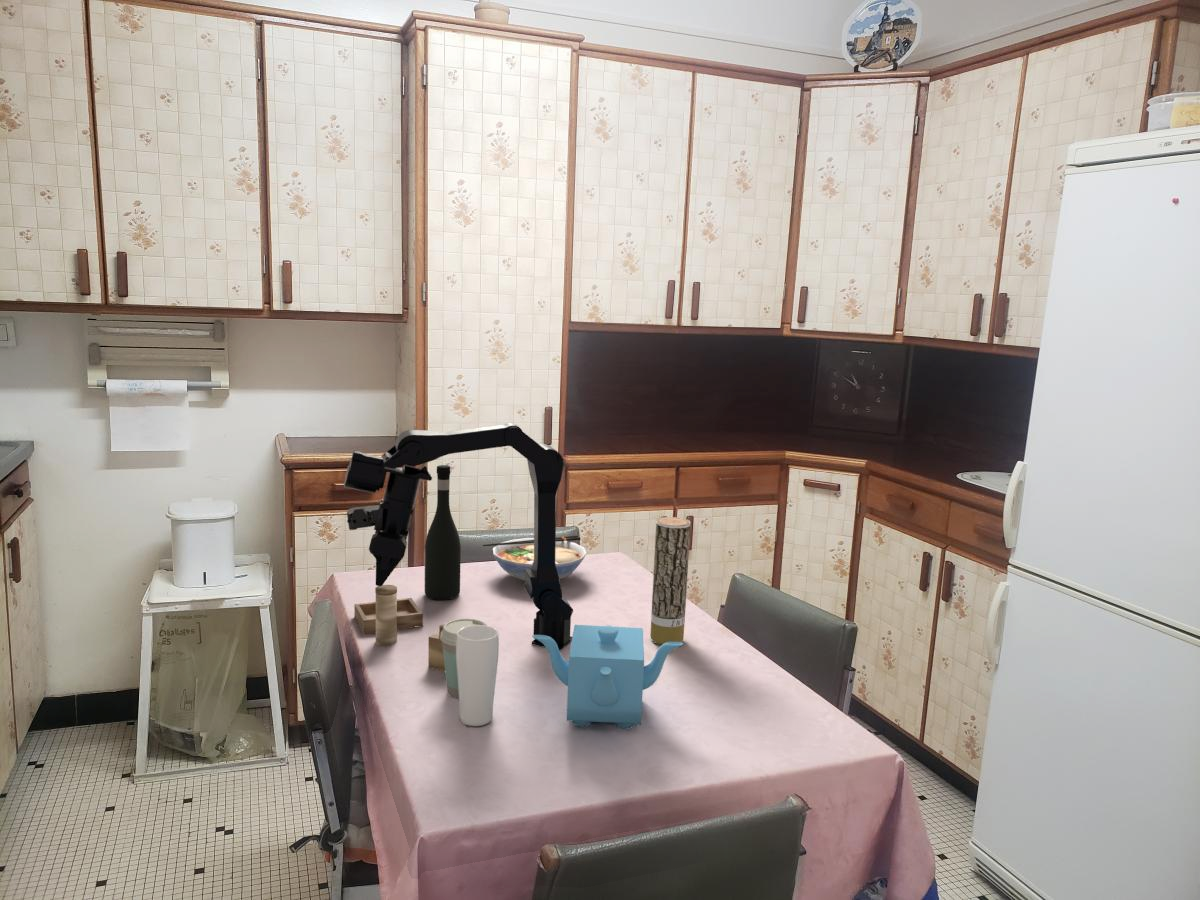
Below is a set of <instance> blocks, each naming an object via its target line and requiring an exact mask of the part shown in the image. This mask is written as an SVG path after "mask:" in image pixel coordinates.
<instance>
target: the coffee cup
mask: <svg viewBox="0 0 1200 900" xmlns="http://www.w3.org/2000/svg"><path fill="white" fill-rule="evenodd" d="M444 624H445V625H444V627H443V630H442V632H441V636H440V639H441V641H442V646H443V655H444V665H445V671H444V673H445V682H446V683H445V684H446V691H447V695H448V696H450V697H451V698H454V699H458V700H459V692H458V679H457V666H456V637H457V631H458V630H459V629H461V628H463V627H466V626H472V625H485V626H488V625H487V623H486V622H485V621H483V620H481V619H478V618H477V619H476V618H457V619H454V620H453V619H452V620H450V621H447V622H446V623H444Z"/></svg>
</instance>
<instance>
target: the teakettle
mask: <svg viewBox="0 0 1200 900" xmlns="http://www.w3.org/2000/svg"><path fill="white" fill-rule="evenodd" d="M531 637H532V638H533V639H534V638H535V639H537V640H538V641H540V642H542V643H543V644H544V646H545V647H544V648H545V649H546V650H547V653H548V656H549V661H550V663H551V667H552V671H553V672H554V674H555V676H556V678H557V679H558V681H560V682H561V683H562V684H563V685H565V686H567V696H566V697H567V698H566V699H567V700H566V703H567V704H566V721H571V722H573V724H574V725H576V726H579V727H585V726H586V727H587V726H589V725H591V723H592V722H594V723H609V724H610V723H611V724H612V723H613V724H616V725H617V727H619V728H620V729H632V728H634V727H635V726H636V725H642V712H643V711H642V709H643V694H644V693H643V692H644V690H647V689H649V688H650V687H652V686H653V685H654V684H655V683H656V682H657V680H658V678H659V676H660V674H661V672H662V669H663V666H664V664H665V662H666V659H667V657H668V655H669V654H670V653H671V652H672V651H674V649H677V648H679V647H681V646H684V642H683V641H682V642H667V643H664V644H663V645H661V644H660V646H659V647H658V649H657V650H656V653H655V655H654V657H653V659H652V660H651V662H650V663H648V664H647V665H645V652H644V651H645V650H644V649H645V647H644V629H643V628H642V627H629V626H627V627H626V626H612V625H609V624H608V625H589V624H586V625H585V624H574V625H573V631H572V636H571V637H572V641H571V642H570V648H569V649H570V650H569V655H568V661H567V660H566V659H565V658H564V657H563V656H562V654H561V652H560V650H559V648H558V646H557V643H556V642H555V641H554V640H553V639H552V638H551V637H549V636H545V635H531ZM634 725H635V726H634ZM633 726H634V727H633ZM631 727H632V728H631Z"/></svg>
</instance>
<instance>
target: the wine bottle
mask: <svg viewBox="0 0 1200 900" xmlns="http://www.w3.org/2000/svg"><path fill="white" fill-rule="evenodd" d="M450 474H451V466H450V465H447V464H445V465H444V464H441V465H440V464H439V465H437V466H436V476H437V483H436V484H437V490H436V491H437V494H436V495H437V497H436V499H437V502H436V510H435V513H434V516H433V520H432V522H431V525H430V527H429V529H428V531H427V535H426V539H425V545H424V595H426V597H428V598H429V599H432V600H434V601H435V600H436V601H446V600H452V599H455V598H456V597H458V596H459V594H460V593H461V551H462V549H461V548H462V547H461V539H460V534H459V531H458V529H457V526H456V523H455V521H454V519H453V516H452V515H453V514H452V512H451V509H450V508H451V507H450V479H451V478H450V476H451V475H450Z"/></svg>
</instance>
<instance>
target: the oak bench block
mask: <svg viewBox="0 0 1200 900" xmlns="http://www.w3.org/2000/svg"><path fill="white" fill-rule="evenodd" d="M445 624H446V623H442V624H440V625H439V626H438V627H439V629H438V630H439V631H436V632H434V633H432V634H431V635H429V636H428V653H427V655H428V656H427V657H428V662H427V663H428V665H427V666H428V667H427V668H428V669H432V668H433V670H436V669H438V670H437V671H441V672H445V665H444V655H443V646H442V641H441V639H440V636H441V632H442V630H443V627H444V625H445Z"/></svg>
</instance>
